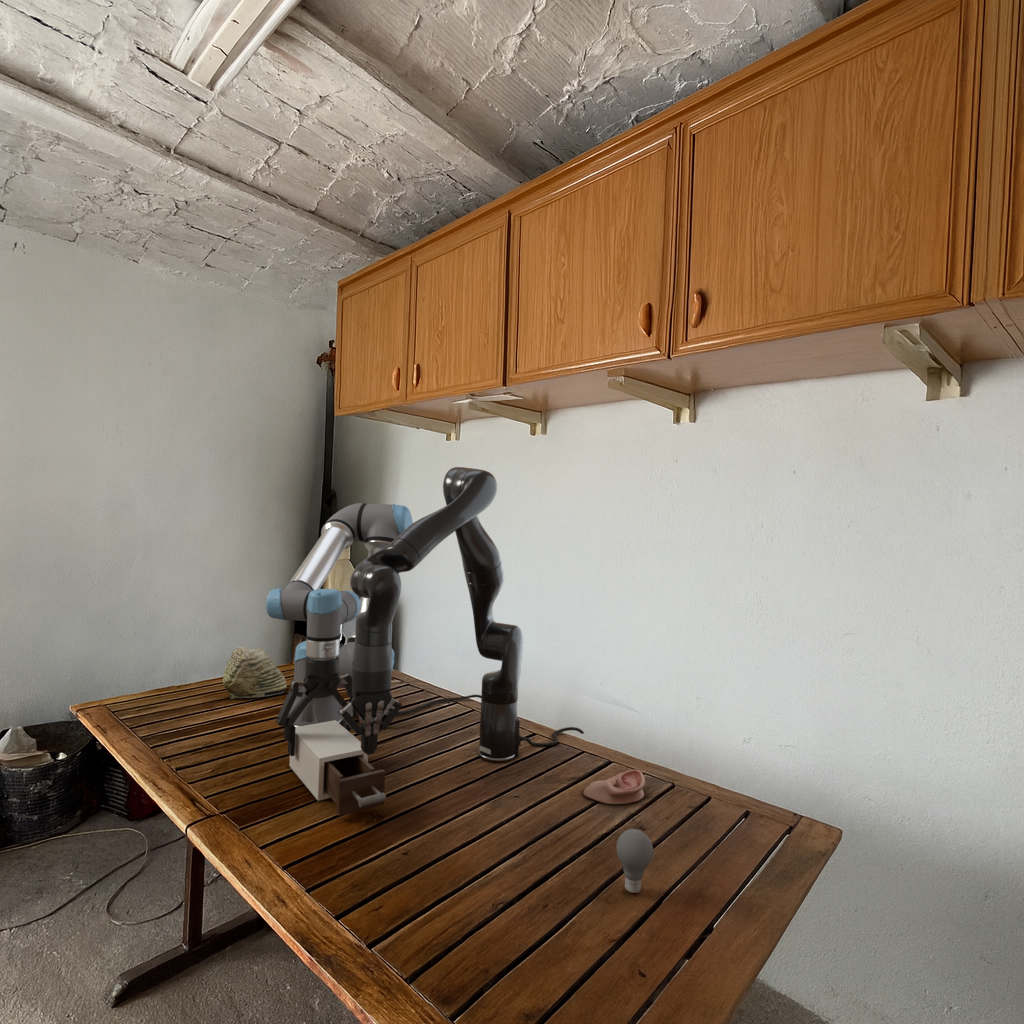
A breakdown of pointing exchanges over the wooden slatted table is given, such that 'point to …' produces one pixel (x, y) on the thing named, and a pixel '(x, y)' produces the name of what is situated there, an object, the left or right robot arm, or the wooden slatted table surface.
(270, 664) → the fossil
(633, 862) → the light bulb
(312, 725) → the cabinet
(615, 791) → the anatomical model
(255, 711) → the wooden slatted table surface
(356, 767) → the drawer
